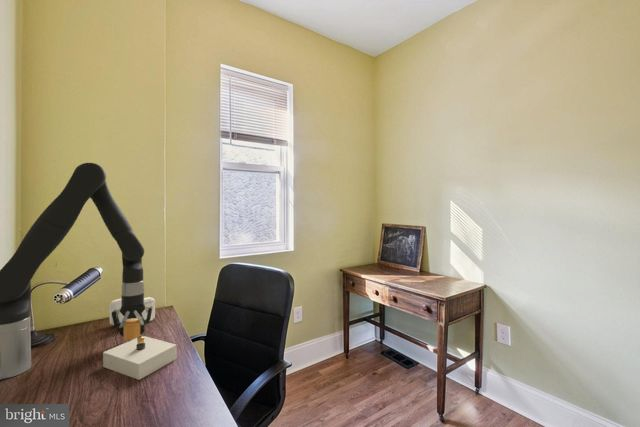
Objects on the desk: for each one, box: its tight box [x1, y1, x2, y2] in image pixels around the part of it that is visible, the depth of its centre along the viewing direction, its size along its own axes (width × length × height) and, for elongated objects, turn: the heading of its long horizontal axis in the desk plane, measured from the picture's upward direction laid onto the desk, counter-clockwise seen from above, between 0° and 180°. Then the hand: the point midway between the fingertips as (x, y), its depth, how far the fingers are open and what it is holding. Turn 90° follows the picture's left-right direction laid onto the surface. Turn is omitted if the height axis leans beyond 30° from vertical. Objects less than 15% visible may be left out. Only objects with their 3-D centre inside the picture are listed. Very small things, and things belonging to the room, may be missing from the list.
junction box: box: [102, 335, 178, 381], centre depth 103 cm, size 14×18×5 cm
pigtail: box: [136, 335, 145, 350], centre depth 102 cm, size 3×3×4 cm
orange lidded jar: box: [123, 319, 142, 341], centre depth 117 cm, size 6×6×6 cm
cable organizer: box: [108, 296, 156, 326], centre depth 136 cm, size 15×11×12 cm
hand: (132, 334), depth 117 cm, fingers closed on orange lidded jar, 5 cm apart
